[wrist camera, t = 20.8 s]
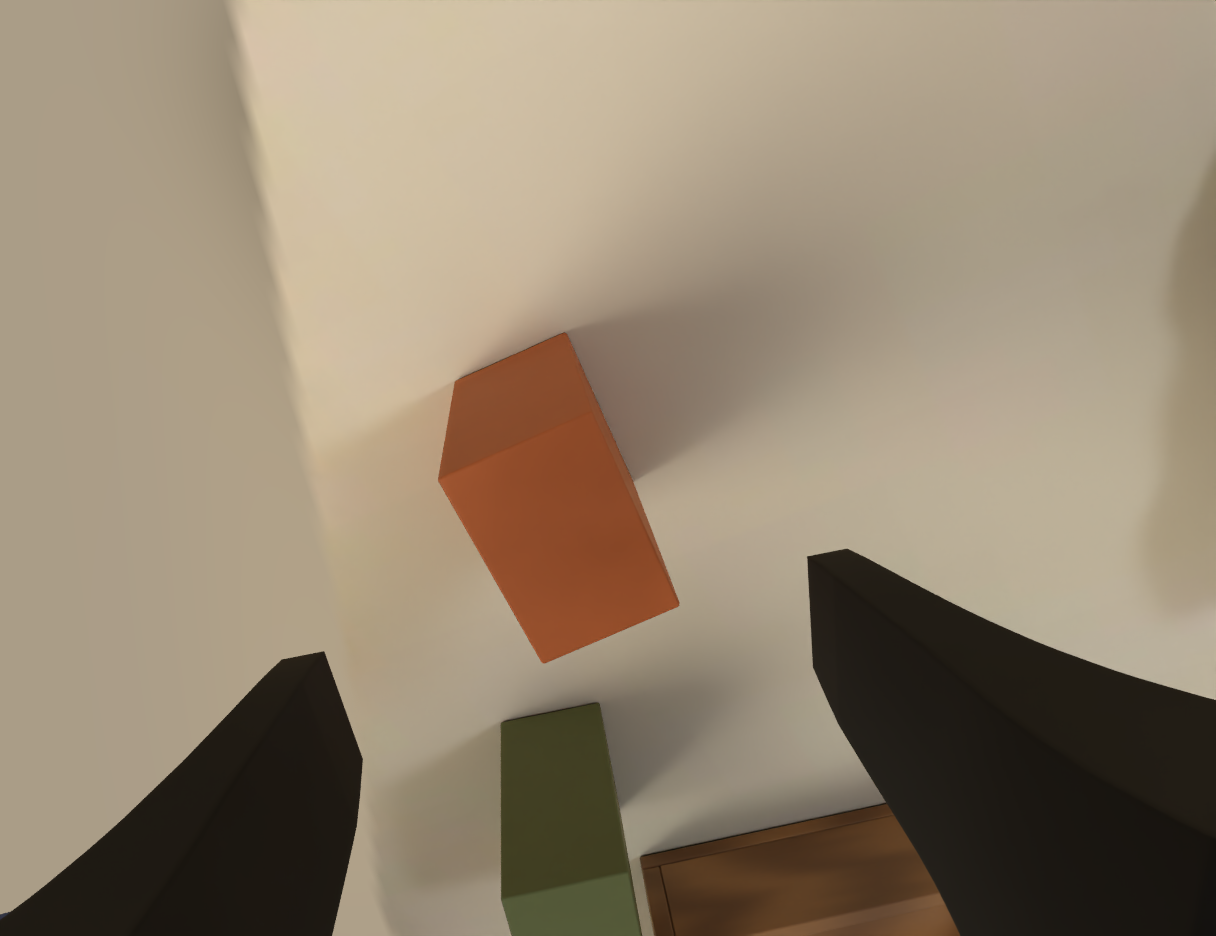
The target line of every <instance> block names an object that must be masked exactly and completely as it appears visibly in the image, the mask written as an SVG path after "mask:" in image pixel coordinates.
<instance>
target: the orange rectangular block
mask: <svg viewBox="0 0 1216 936" xmlns="http://www.w3.org/2000/svg"><path fill="white" fill-rule="evenodd" d="M438 481H439V483H440V485H441V486H442V488H443V490H444V492H445V493H446V495H447V497H448V499H449V500H450V502H451V504H452V506H453V507H454V509H455V511H456V513H457V514H458V516H459V518H460V520H461V521H462V523H463V525H464V527H465V529H466V530H467V532H468V534H469V536H470V537H471V539H472V541H473V543H474V544H475V546H476V548H477V550H478V551H479V553H480V555H481V557H482V558H483V560H484V562H485V564H486V565H487V567H488V569H489V571H490V572H491V574H492V576H493V578H494V579H495V581H496V583H497V585H498V587H499V588H500V590H501V592H502V594H503V595H504V597H505V599H506V601H507V602H508V604H509V606H510V608H511V609H512V611H513V613H514V615H515V616H516V618H517V620H518V622H519V623H520V625H521V627H522V629H523V630H524V632H525V634H526V636H527V637H528V639H529V641H530V643H531V645H532V646H533V648H534V650H535V652H536V653H537V655H538V657H539V659H540V660H541V662H542V663H547V662H549V661H552V660H554V659H556V658H559V657H561V656H563V655H566V654H568V653H570V652H573V651H575V650H577V649H580V648H582V647H584V646H587V645H589V644H592V643H594V642H596V641H599V640H601V639H603V638H606V637H608V636H610V635H613V634H615V633H617V632H620V631H622V630H624V629H627V628H629V627H631V626H634V625H636V624H638V623H641V622H643V621H646V620H648V619H650V618H653V617H655V616H657V615H660V614H662V613H664V612H667V611H669V610H671V609H674V608H676V607H678V606H679V600H678V598H677V595H676V593H675V590H674V587H673V585H672V582H671V579H670V577H669V574H668V572H667V569H666V566H665V564H664V561H663V559H662V556H661V553H660V551H659V548H658V545H657V543H656V540H655V538H654V535H653V532H652V530H651V527H650V525H649V522H648V519H647V517H646V514H645V512H644V509H643V506H642V504H641V501H640V498H639V496H638V493H637V491H636V488H635V485H634V483H633V480H632V478H631V476H630V474H629V472H628V469H627V467H626V465H625V463H624V460H623V458H622V456H621V454H620V451H619V449H618V447H617V445H616V442H615V440H614V438H613V436H612V434H611V431H610V429H609V427H608V425H607V422H606V420H605V418H604V416H603V413H602V411H601V409H600V407H599V405H598V402H597V400H596V398H595V396H594V393H593V391H592V389H591V387H590V384H589V382H588V380H587V378H586V375H585V373H584V371H583V369H582V367H581V364H580V362H579V360H578V358H577V355H576V353H575V351H574V349H573V346H572V344H571V342H570V340H569V338H568V335H567V334H566V333H562V334H560V335H558V336H556V337H553V338H551V339H549V340H547V341H544V342H542V343H540V344H538V345H535V346H533V347H531V348H529V349H526V350H524V351H522V352H520V353H517V354H515V355H513V356H511V357H508V358H506V359H504V360H502V361H499V362H497V363H495V364H493V365H490V366H488V367H486V368H484V369H481V370H479V371H477V372H475V373H472V374H470V375H468V376H466V377H463V378H461V379H459V380H457V381H455V384H454V390H453V396H452V402H451V408H450V413H449V419H448V425H447V431H446V437H445V443H444V448H443V454H442V460H441V466H440V472H439V477H438Z"/></svg>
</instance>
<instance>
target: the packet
mask: <svg viewBox="0 0 1216 936" xmlns="http://www.w3.org/2000/svg"><path fill="white" fill-rule="evenodd" d="M501 900H502V904H503V907H504V911H505V914H506V918H507V921H508V924H509V928H510V931H511V935H512V936H642V932H641V927H640V921H639V915H638V910H637V904H636V898H635V893H634V887H633V881H632V876H631V870H630V864H629V859H628V853H627V847H626V842H625V836H624V831H623V825H622V819H621V814H620V808H619V803H618V798H617V792H616V787H615V782H614V777H613V771H612V766H611V761H610V756H609V751H608V745H607V740H606V735H605V730H604V724H603V719H602V714H601V709H600V704H599V703H595V704H590V705H585V706H580V707H575V708H571V709H566V710H561V711H556V712H551V713H546V714H541V715H536V716H531V717H526V718H521V719H516V720H512V721H507V722H502V723H501Z"/></svg>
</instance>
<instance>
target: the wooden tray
mask: <svg viewBox="0 0 1216 936" xmlns="http://www.w3.org/2000/svg"><path fill="white" fill-rule="evenodd" d="M640 862H641V868H642V873H643V879H644V884H645V890H646V895H647V900H648V906H649V911H650V917H651V922H652V928H653V933H654V936H960V934H959V932H958V930H957V928H956V926H955V924H954V921H953V919H952V917H951V915H950V913H949V911H948V909H947V907H946V905H945V903H944V901H943V899H942V897H941V895H940V893H939V891H938V889H937V887H936V885H935V883H934V881H933V880H932V878H931V876H930V874H929V872H928V871H927V869H926V867H925V865H924V864H923V862H922V860H921V858H920V856H919V855H918V853H917V851H916V850H915V848H914V846H913V845H912V843H911V842H910V840H909V838H908V837H907V835H906V834H905V832H904V830H903V829H902V827H901V825H900V824H899V822H898V821H897V819H896V817H895V816H894V814H893V813H892V811H891V809H890V808H889V806H888V804H884V805H879V806H875V807H870V808H865V809H861V810H856V811H851V812H847V813H842V814H838V815H833V816H828V817H824V818H819V819H814V820H810V821H805V822H801V823H796V824H791V825H787V826H782V827H777V828H773V829H768V830H763V831H759V832H754V833H750V834H745V835H740V836H736V837H731V838H726V839H722V840H717V841H713V842H708V843H703V844H699V845H694V846H689V847H685V848H680V849H675V850H671V851H666V852H662V853H657V854H652V855H648V856H643V857H640Z"/></svg>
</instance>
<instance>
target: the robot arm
mask: <svg viewBox="0 0 1216 936" xmlns="http://www.w3.org/2000/svg"><path fill="white" fill-rule="evenodd" d="M807 559H808V578H809V598H810V618H811V637H812V657H813V668H814V670H815V673H816V675H817V677H818V680H819V682H820V684H821V687H822V689H823V691H824V693H825V696H826V698H827V700H828V702H829V705H830V707H831V709H832V711H833V713H834V715H835V718H836V720H837V722H838V724H839V726H840V728H841V729H842V731H843V733H844V734H845V736H846V738H847V739H848V741H849V743H850V744H851V746H852V748H853V749H854V751H855V752H856V754H857V756H858V757H859V759H860V761H861V762H862V764H863V766H864V767H865V769H866V771H867V772H868V774H869V775H870V777H871V779H872V780H873V782H874V783H875V785H876V787H877V788H878V790H879V792H880V793H881V795H882V796H883V798H884V800H885V801H886V803H887V804H888V806H889V808H890V809H891V811H892V813H893V814H894V816H895V817H896V819H897V821H898V822H899V824H900V825H901V827H902V829H903V830H904V832H905V834H906V835H907V837H908V838H909V840H910V842H911V843H912V845H913V846H914V848H915V850H916V851H917V853H918V855H919V856H920V858H921V860H922V862H923V864H924V865H925V867H926V869H927V871H928V872H929V874H930V876H931V878H932V880H933V881H934V883H935V885H936V887H937V889H938V891H939V893H940V895H941V897H942V899H943V901H944V903H945V905H946V907H947V909H948V911H949V913H950V915H951V917H952V919H953V921H954V924H955V926H956V928H957V930H958V932H959V934H960V936H1216V700H1214V699H1209V698H1206V697H1202V696H1198V695H1195V694H1191V693H1188V692H1184V691H1181V690H1177V689H1174V688H1170V687H1167V686H1163V685H1160V684H1156V683H1153V682H1149V681H1146V680H1142V679H1139V678H1136V677H1133V676H1130V675H1127V674H1124V673H1121V672H1117V671H1114V670H1111V669H1108V668H1106V667H1103V666H1100V665H1097V664H1094V663H1092V662H1089V661H1086V660H1083V659H1081V658H1078V657H1075V656H1072V655H1070V654H1067V653H1064V652H1061V651H1059V650H1056V649H1053V648H1051V647H1048V646H1046V645H1043V644H1041V643H1038V642H1036V641H1034V640H1031V639H1029V638H1027V637H1024V636H1022V635H1020V634H1017V633H1015V632H1013V631H1011V630H1008V629H1006V628H1004V627H1002V626H999V625H997V624H995V623H993V622H990V621H988V620H986V619H984V618H982V617H980V616H978V615H976V614H973V613H971V612H969V611H967V610H965V609H963V608H961V607H959V606H957V605H955V604H953V603H951V602H949V601H947V600H945V599H943V598H941V597H939V596H937V595H935V594H933V593H931V592H929V591H927V590H926V589H924V588H922V587H920V586H918V585H916V584H914V583H912V582H910V581H909V580H907V579H905V578H903V577H901V576H899V575H897V574H895V573H894V572H892V571H890V570H888V569H886V568H884V567H882V566H880V565H879V564H877V563H875V562H873V561H871V560H869V559H867V558H865V557H863V556H861V555H859V554H857V553H855V552H853V551H851V550H849V549H843V550H838V551H833V552H828V553H823V554H818V555H813V556H807ZM362 762H363V758H362V756H361V753H360V750H359V747H358V744H357V742H356V739H355V736H354V733H353V731H352V728H351V725H350V722H349V719H348V717H347V714H346V711H345V708H344V705H343V703H342V700H341V697H340V694H339V691H338V689H337V686H336V683H335V680H334V678H333V675H332V672H331V669H330V666H329V664H328V661H327V658H326V655H325V652H319V653H313V654H308V655H303V656H298V657H293V658H288V659H283V660H281V661H280V662H279V663H278V664H277V665H276V666H275V667H274V668H272V669H271V670H270V671H269V672H268V673H267V674H266V675H265V676H264V677H263V678H262V679H261V680H260V681H259V682H258V683H257V685H255V687H254V688H253V689H252V690H251V691H250V692H249V693H248V694H247V695H246V696H245V697H244V698H243V699H242V700H241V701H240V702H239V704H238V705H236V707H235V708H234V709H233V710H232V711H231V712H230V713H229V714H228V715H227V716H226V717H225V718H224V719H223V720H222V721H221V722H220V723H219V724H218V725H217V727H216V728H215V729H214V730H213V731H212V732H211V733H210V734H209V735H208V736H207V737H206V738H205V739H204V740H203V741H202V742H201V743H200V744H199V745H198V746H197V747H196V749H194V750H193V751H192V753H191V754H190V755H189V756H188V757H187V758H186V759H185V760H184V761H183V762H182V763H181V764H180V765H179V766H178V767H177V768H175V769H174V770H173V771H172V773H170V774H169V775H168V776H167V777H166V778H165V779H164V780H163V781H162V782H161V783H160V784H159V785H158V786H157V787H156V788H155V789H154V790H153V791H152V792H150V794H148V795H147V797H145V798H144V799H143V800H142V801H141V802H140V803H139V804H138V805H137V806H136V807H135V808H134V809H133V810H132V811H131V812H130V813H129V814H128V815H127V816H126V817H125V818H123V819H122V820H121V821H120V822H119V823H118V824H117V825H116V826H115V827H114V828H112V829H111V830H110V831H109V832H108V833H107V834H106V835H105V836H103V837H102V838H101V839H100V840H99V841H98V842H97V843H96V844H94V845H93V846H92V847H91V848H90V849H89V850H87V851H86V852H85V853H84V854H83V855H81V856H80V857H79V858H78V859H77V860H75V861H74V862H73V863H72V864H71V865H69V866H68V867H67V868H66V869H64V870H63V871H62V872H61V873H60V874H58V875H57V876H56V877H55V878H54V879H52V880H51V881H50V882H49V883H48V884H47V885H45V886H44V887H43V888H41V889H40V890H39V891H38V892H36V893H35V894H34V895H33V896H31V897H30V898H29V899H27V900H26V901H25V902H23V903H22V904H21V905H19V906H18V907H17V908H15V909H14V910H13V911H11V912H10V913H9V914H7V915H6V916H5V917H3V918H2V919H0V936H332V933H333V929H334V924H335V920H336V916H337V912H338V907H339V903H340V899H341V894H342V890H343V886H344V881H345V877H346V873H347V868H348V864H349V859H350V855H351V850H352V846H353V841H354V836H355V831H356V827H357V818H358V809H359V799H360V788H361V775H362Z"/></svg>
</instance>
